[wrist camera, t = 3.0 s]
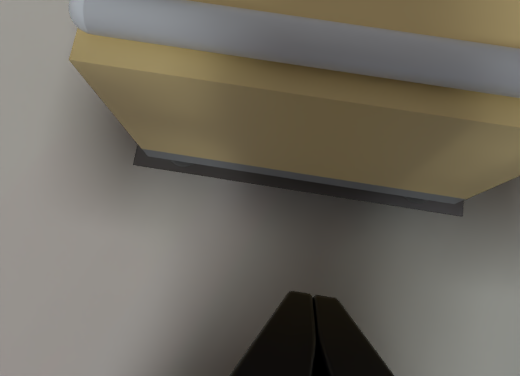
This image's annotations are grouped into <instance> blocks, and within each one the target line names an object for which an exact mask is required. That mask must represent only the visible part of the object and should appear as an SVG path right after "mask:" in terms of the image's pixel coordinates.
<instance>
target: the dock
mask: <svg viewBox="0 0 520 376" xmlns="http://www.w3.org/2000/svg"><path fill="white" fill-rule="evenodd" d="M133 165H137V166H144V167H150V168H157V169H163V170H169V171H176V172H182V173H188V174H195V175H201V176H208V177H214V178H220V179H227V180H233V181H239V182H246V183H252V184H259V185H265V186H271V187H278V188H284V189H290V190H297V191H303V192H310V193H316V194H322V195H329V196H335V197H341V198H348V199H354V200H361V201H367V202H373V203H380V204H386V205H392V206H399V207H405V208H411V209H418V210H424V211H431V212H437V213H443V214H450V215H456V216H463V201H464V200H463V201H461V202H458V203H456V204H450V203H444V202H437V201H431V200H429V201H427V202H424V203H413V202H410V201H408V200H407V199H406V198H405V197H404V196H399V195H392V194H386V193H379V192H373V191H367V190H360V189H354V188H347V187H341V186H335V185H328V184H322V183H315V182H309V181H303V180H296V179H290V178H283V177H277V176H271V175H264V174H258V173H251V172H245V171H239V170H232V169H226V168H219V167H213V166H207V165H200V164H193V165H191V166H188V167H181V166H178V165H176V164H174V163H173V162H172V161H171V160H168V159H162V158H155V157H149V156H147V155H146V153H145V152H144V151H143V150H142V149H141V148H140V146H139V145H138V146H137V150H136V154H135V159H134V163H133Z"/></svg>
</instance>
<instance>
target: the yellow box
mask: <svg viewBox="0 0 520 376" xmlns="http://www.w3.org/2000/svg"><path fill="white" fill-rule="evenodd" d="M69 14H70V17H71V19H72V21H73V23H74V24H75V25H76V26H77V27H78V29H77V32H76V36H75V39H74V43H73V47H72V50H71V54H70V57H69V61H70V62H71V63H72V64H73V65H74V67H75V68H76V69H77V70H78V72H79V73H80V74H81V75H82V77H83V78H84V79H85V80H86V81H87V83H88V84H89V85H90V86H91V88H92V89H93V90H94V91H95V92H96V94H97V95H98V96H99V97H100V99H101V100H102V101H103V102H104V103H105V105H106V106H107V107H108V108H109V110H110V111H111V112H112V113H113V114H114V116H115V117H116V118H117V119H118V121H119V122H120V123H121V124H122V125H123V127H124V128H125V129H126V130H127V132H128V133H129V134H130V135H131V137H132V138H133V139H134V140H135V141H136V143H137V144H138V145H139V146H140V148H141V149H142V150H143V151H144V152H145V153H146V155H147V156H149V157H155V158H162V159H168V160H171V161H172V162H173V163H174V164H176V165H178V166H181V167H188V166H191V165H193V164H200V165H207V166H213V167H219V168H226V169H232V170H239V171H245V172H251V173H258V174H264V175H271V176H277V177H283V178H290V179H296V180H303V181H309V182H315V183H322V184H328V185H335V186H341V187H347V188H354V189H360V190H367V191H373V192H379V193H386V194H392V195H399V196H404V197H405V198H406V199H407V200H408V201H410V202H413V203H424V202H427V201H429V200H431V201H437V202H444V203H450V204H456V203H458V202H461V201H463V200H465V199H468V198H470V197H473V196H475V195H477V194H479V193H482V192H484V191H486V190H489V189H491V188H493V187H495V186H498V185H500V184H502V183H505V182H507V181H509V180H511V179H514V178H516V177H518V176H520V0H70V2H69Z"/></svg>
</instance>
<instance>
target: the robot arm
mask: <svg viewBox="0 0 520 376" xmlns="http://www.w3.org/2000/svg"><path fill="white" fill-rule="evenodd" d="M230 376H394V375H393V374H392V372H391V371H390V369H389V368H388V367H387V365H386V364H385V363H384V361H383V360H382V359H381V357H380V356H379V355H378V353H377V352H376V351H375V349H374V348H373V346H372V345H371V344H370V342H369V341H368V340H367V338H366V337H365V336H364V334H363V333H362V332H361V330H360V329H359V328H358V326H357V325H356V324H355V322H354V321H353V319H352V318H351V317H350V315H349V314H348V313H347V311H346V310H345V309H344V307H343V306H342V305H341V303H340V302H339V301H338V300H337V299H336V298H332V297H326V296H320V295H315V296H314V297H312V296H311V295H310V294H308V293H301V292H295V291H290V292H289V293H288V294H287V295H286V296H285V298H284V299H283V301H282V302H281V303H280V305H279V306H278V308H277V309H276V310H275V312H274V313H273V315H272V316H271V318H270V319H269V320H268V322H267V323H266V325H265V326H264V327H263V329H262V330H261V332H260V333H259V335H258V336H257V337H256V339H255V340H254V342H253V343H252V344H251V346H250V347H249V349H248V350H247V351H246V353H245V354H244V356H243V357H242V359H241V360H240V361H239V363H238V364H237V366H236V367H235V368H234V370H233V371H232V373H231V374H230Z"/></svg>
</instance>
